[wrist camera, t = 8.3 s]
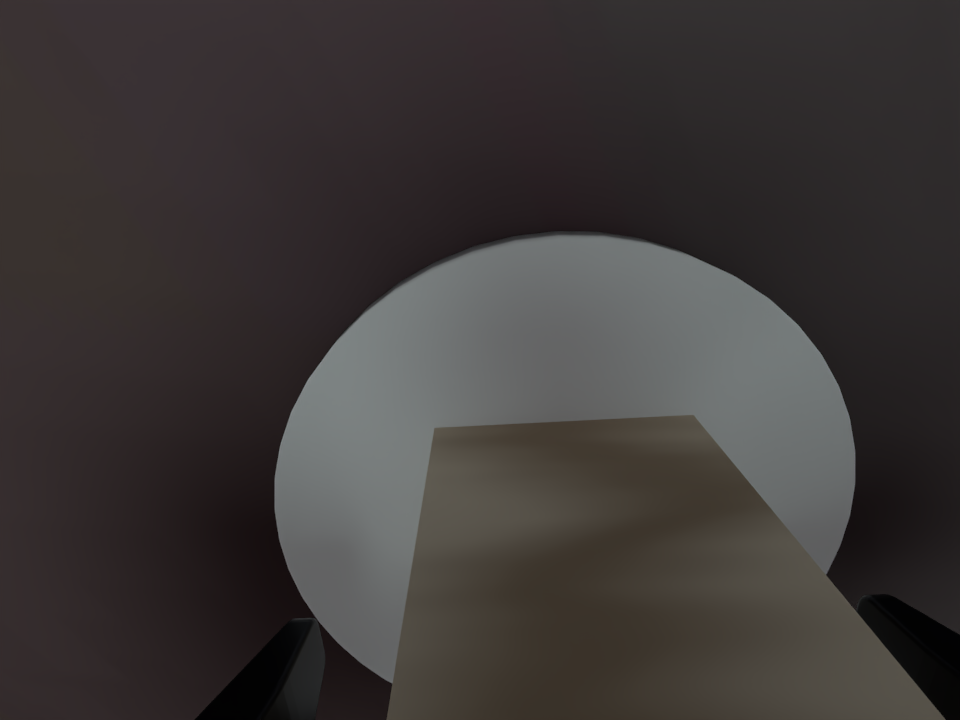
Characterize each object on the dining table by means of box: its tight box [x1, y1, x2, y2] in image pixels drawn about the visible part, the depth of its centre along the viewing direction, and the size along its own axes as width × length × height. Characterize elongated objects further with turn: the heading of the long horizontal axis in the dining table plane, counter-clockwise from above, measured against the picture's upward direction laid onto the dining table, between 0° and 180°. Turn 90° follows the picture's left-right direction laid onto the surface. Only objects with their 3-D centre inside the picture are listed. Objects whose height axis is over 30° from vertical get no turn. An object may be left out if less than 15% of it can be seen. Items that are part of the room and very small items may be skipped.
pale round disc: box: [275, 231, 855, 684], centre depth 12 cm, size 12×12×1 cm
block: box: [387, 415, 945, 720], centre depth 8 cm, size 5×5×6 cm
